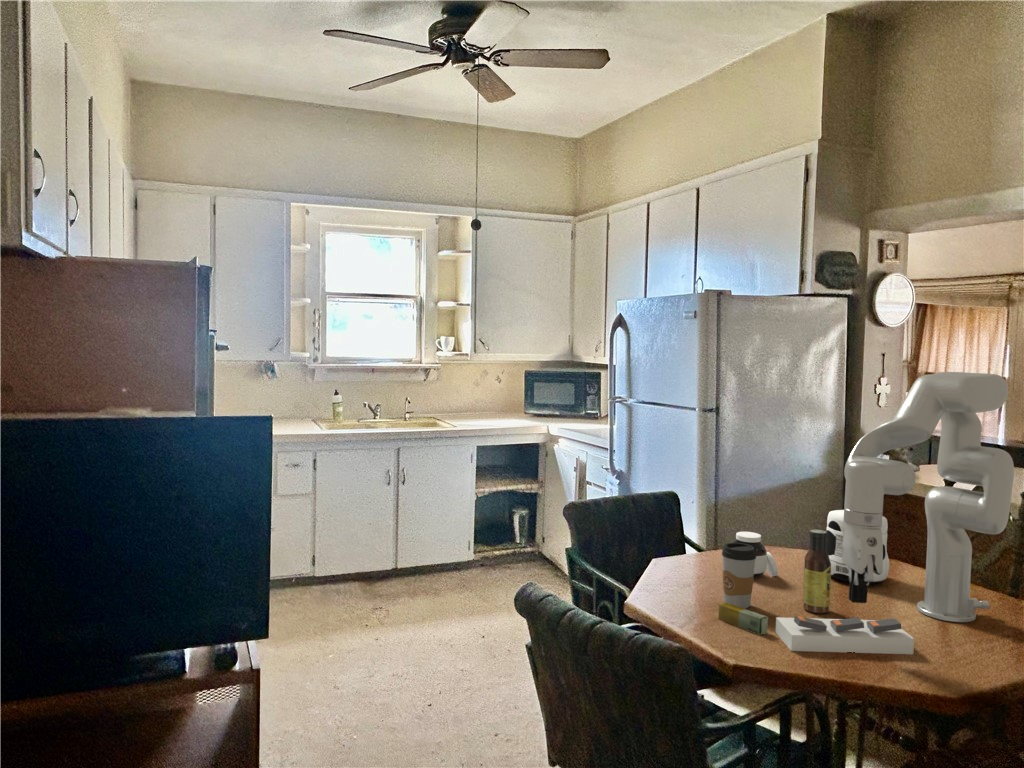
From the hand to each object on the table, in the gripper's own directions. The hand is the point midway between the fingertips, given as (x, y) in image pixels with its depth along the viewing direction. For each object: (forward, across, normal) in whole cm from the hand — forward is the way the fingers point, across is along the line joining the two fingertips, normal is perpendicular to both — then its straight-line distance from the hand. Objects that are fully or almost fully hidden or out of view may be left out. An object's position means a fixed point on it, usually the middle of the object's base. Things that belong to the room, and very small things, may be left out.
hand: (857, 601), depth 158 cm
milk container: (+9, +48, -21) cm, 54 cm away
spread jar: (+10, +50, +7) cm, 51 cm away
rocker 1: (+6, 0, +10) cm, 11 cm away
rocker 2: (+5, 0, -6) cm, 8 cm away
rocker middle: (+5, 0, +2) cm, 6 cm away
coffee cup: (+11, +24, +19) cm, 33 cm away
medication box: (+11, +11, +21) cm, 26 cm away
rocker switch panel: (+10, +2, +2) cm, 11 cm away
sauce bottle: (+10, +22, 0) cm, 25 cm away
